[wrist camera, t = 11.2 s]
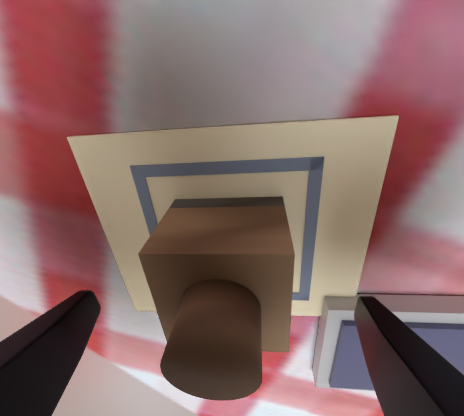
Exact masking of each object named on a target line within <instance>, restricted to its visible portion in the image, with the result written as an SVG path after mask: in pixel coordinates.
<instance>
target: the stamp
mask: <svg viewBox="0 0 464 416" xmlns="http://www.w3.org/2000/svg"><path fill="white" fill-rule="evenodd" d="M138 256H139V259H140V262H141V265H142V268H143V271H144V274H145V277H146V280H147V283H148V286H149V289H150V292H151V295H152V298H153V301H154V304H155V307H156V310H157V313H158V316H159V319H160V322H161V325H162V328H163V331H164V334H165V337H166V340H167V345H166V348H165V351H164V354H163V357H162V360H161V364H160V368H161V372H162V374H163V376H164V377H165V378H166V380H167V381H168V382H169V383H171V384H172V385H173V386H174V387H176V388H178V389H179V390H181V391H183V392H185V393H187V394H190V395H193V396H196V397H200V398H204V399H210V400H235V399H240V398H243V397H246V396H249V395H250V394H252V393H254V392H255V391H256V390H257V389H258V388H259V387H260V385H261V382H262V351H270V352H289V339H290V323H291V308H292V292H293V277H294V261H295V252H294V247H293V243H292V238H291V233H290V228H289V224H288V219H287V214H286V210H285V205H284V200H283V196H279V197H240V198H201V199H175V200H174V201H173V203H172V204H171V206H170V207H169V209H168V210H167V212H166V213H165V215H164V216H163V218H162V219H161V221H160V222H159V224H158V225H157V227H156V228H155V229H154V231H153V232H152V234H151V235H150V237H149V238H148V240H147V241H146V243H145V244H144V246H143V247H142V249H141V250H140V252H139V253H138Z"/></svg>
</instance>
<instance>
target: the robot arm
mask: <svg viewBox="0 0 464 416" xmlns="http://www.w3.org/2000/svg"><path fill="white" fill-rule="evenodd" d="M100 309H101V307H100V304H99V302H98V300H97V298H96V296H95V294H94V292H93V291H91V290H81V291H78V292H77V293H75V294H74V295H72V296H70V297H69V298H67V299H66V300H64V301H63V302H61V303H60V304H58V305H57V306H55V307H53V308H52V309H50V310H49V311H47V312H46V313H44V314H43V315H41V316H40V317H38V318H36V319H35V320H34V321H32V322H30V323H29V324H27V325H26V326H24V327H23V328H21V329H20V330H18V331H16V332H15V333H13V334H12V335H11V336H9V337H7V338H6V339H4V340H3V341H1V342H0V416H52V414H53V412H54V410H55V408H56V406H57V404H58V402H59V400H60V398H61V396H62V394H63V392H64V390H65V388H66V386H67V385H68V383H69V380H70V379H71V377H72V375H73V373H74V371H75V369H76V367H77V365H78V363H79V361H80V359H81V357H82V355H83V352H84V350H85V348H86V345H87V343H88V340H89V338H90V336H91V333H92V331H93V328H94V326H95V323H96V321H97V318H98V316H99V314H100ZM354 320H355V324H356V328H357V332H358V335H359V339H360V343H361V347H362V351H363V354H364V358H365V362H366V366H367V369H368V373H369V376H370V379H371V382H372V384H373V387H374V390H375V392H376V395H377V398H378V400H379V403H380V406H381V408H382V411H383V414H384V416H464V375H463V374H462V373H461V372H460V371H459V370H458V369H457V368H455V367H454V366H453V365H452V364H451V363H450V362H448V361H447V360H446V359H445V358H444V357H443V356H442V355H440V354H439V353H438V352H437V351H436V350H435V349H434V348H432V347H431V346H430V345H429V344H428V343H427V342H426V341H424V340H423V339H422V338H421V337H420V336H419V335H418V334H416V333H415V332H414V331H413V330H412V329H411V328H410V327H408V326H407V325H406V324H405V323H404V322H403V321H401V320H400V319H399V318H398V317H397V316H396V315H395V314H393V313H392V312H391V311H390V310H389V309H388V308H387V307H385V306H384V305H383V304H382V303H381V302H380V301H379V300H377V299H376V298H375V297H373V296H359V297H358V299H357V303H356V307H355V311H354Z"/></svg>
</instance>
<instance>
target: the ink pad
mask: <svg viewBox="0 0 464 416" xmlns="http://www.w3.org/2000/svg"><path fill="white" fill-rule="evenodd" d="M359 296H373V297H375V298H376V299H377V300H379V301H380V302H381V303H382V304H383V305H384V306H385V307H387V308H388V309H389V310H390V311H391V312H392V313H393V314H395V315H396V316H397V317H398V318H399V319H400V320H401V321H403V322H404V323H405V324H406V325H407V326H408V327H410V328H411V329H412V330H413V331H414V332H415V333H416V334H418V335H419V336H420V337H421V338H422V339H423V340H424V341H426V342H427V343H428V344H429V345H430V346H431V347H432V348H434V349H435V350H436V351H437V352H438V353H439V354H440V355H442V356H443V357H444V358H445V359H446V360H447V361H448V362H450V363H451V364H452V365H453V366H454V367H455V368H457V369H458V370H459V371H460V372H461V373H462V374H463V375H464V296H437V295H382V294H356V297H324V303H323V309H322V316H320V320H319V327H318V334H317V341H316V348H315V354H314V361H313V368H312V371H313V376H314V382H315V387H321V388H337V389H353V390H369V391H375V390H374V387H373V384H372V382H371V379H370V376H369V373H368V369H367V366H366V362H365V358H364V354H363V351H362V347H361V343H360V339H359V335H358V332H357V328H356V324H355V320H354V311H355V307H356V303H357V299H358V297H359Z"/></svg>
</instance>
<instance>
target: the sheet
mask: <svg viewBox="0 0 464 416" xmlns="http://www.w3.org/2000/svg"><path fill="white" fill-rule="evenodd" d="M398 119H399V116H398V115H389V116H374V117H358V118H343V119H327V120H312V121H296V122H281V123H265V124H250V125H234V126H218V127H203V128H187V129H172V130H156V131H141V132H125V133H110V134H94V135H79V136H69V137H67V139H68V142H69V144H70V147H71V149H72V152H73V154H74V157H75V159H76V162H77V164H78V167H79V169H80V172H81V175H82V177H83V180H84V182H85V185H86V187H87V190H88V192H89V195H90V197H91V200H92V202H93V205H94V207H95V210H96V212H97V215H98V217H99V220H100V222H101V225H102V227H103V230H104V232H105V235H106V237H107V240H108V243H109V245H110V248H111V250H112V253H113V255H114V258H115V260H116V263H117V265H118V268H119V270H120V273H121V275H122V278H123V280H124V283H125V285H126V288H127V290H128V293H129V295H130V298H131V300H132V303H133V305H134V308H135V311H157V310H156V307H155V304H154V301H153V298H152V295H151V292H150V289H149V286H148V283H147V280H146V277H145V274H144V271H143V268H142V265H141V262H140V259H139V256H138V253H139V252H140V250H141V249H142V247H143V246H144V244H145V243H146V241H147V240H148V238H149V237H150V235H151V234H152V232H153V231H154V229H155V228H156V227H157V225H158V224H159V222H160V221H161V219H162V218H163V216H164V215H165V213H166V212H167V210H168V209H169V207H170V206H171V204H172V203H173V201H174V200H175V199H201V198H240V197H279V196H283V200H284V205H285V210H286V214H287V219H288V224H289V228H290V233H291V238H292V243H293V247H294V252H295V261H294V277H293V292H292V308H291V315H295V316H322V309H323V303H324V297H356V294H357V290H358V286H359V282H360V277H361V273H362V269H363V265H364V261H365V257H366V252H367V248H368V244H369V240H370V236H371V231H372V227H373V223H374V219H375V215H376V211H377V206H378V202H379V198H380V194H381V190H382V186H383V181H384V177H385V173H386V169H387V165H388V160H389V156H390V152H391V148H392V144H393V140H394V135H395V131H396V127H397V123H398Z"/></svg>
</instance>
